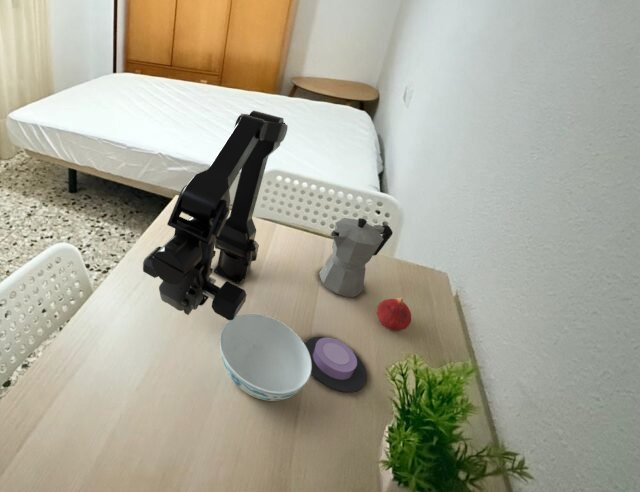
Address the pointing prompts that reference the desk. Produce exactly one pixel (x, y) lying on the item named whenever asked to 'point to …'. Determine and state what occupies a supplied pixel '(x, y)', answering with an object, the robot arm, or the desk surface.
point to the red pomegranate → (394, 314)
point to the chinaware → (264, 357)
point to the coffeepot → (352, 254)
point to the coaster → (340, 385)
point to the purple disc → (334, 358)
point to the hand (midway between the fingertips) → (187, 312)
